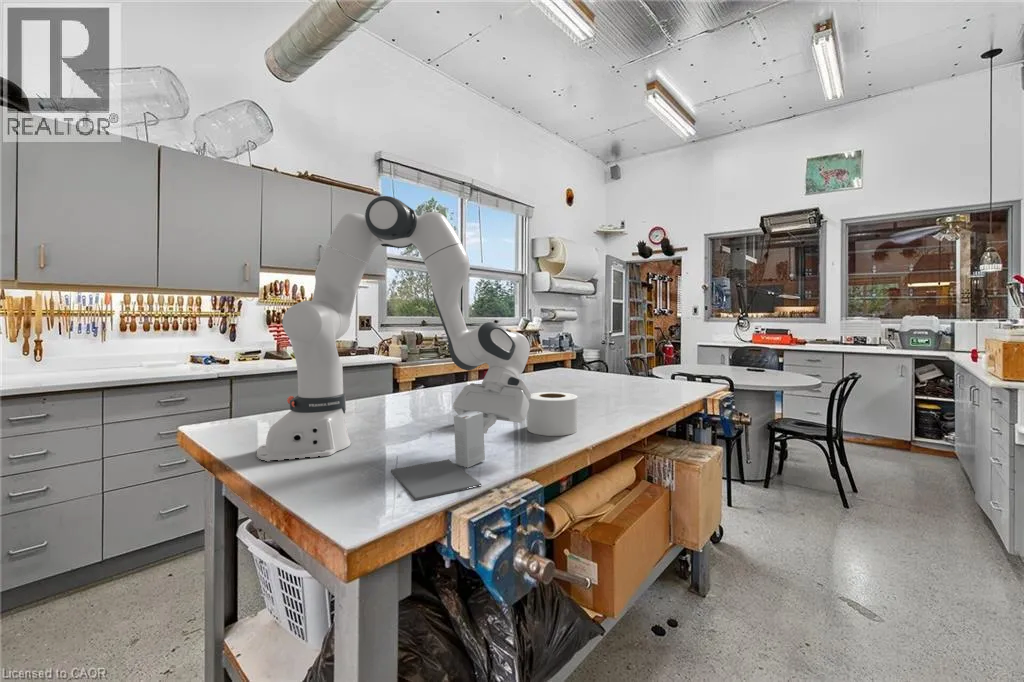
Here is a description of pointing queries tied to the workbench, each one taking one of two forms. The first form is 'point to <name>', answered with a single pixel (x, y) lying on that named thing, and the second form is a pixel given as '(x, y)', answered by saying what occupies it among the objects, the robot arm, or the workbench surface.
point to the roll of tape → (552, 413)
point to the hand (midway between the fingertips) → (478, 431)
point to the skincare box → (469, 438)
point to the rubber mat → (433, 479)
